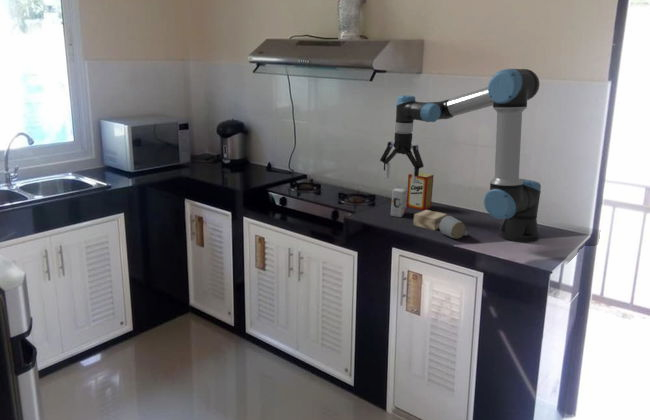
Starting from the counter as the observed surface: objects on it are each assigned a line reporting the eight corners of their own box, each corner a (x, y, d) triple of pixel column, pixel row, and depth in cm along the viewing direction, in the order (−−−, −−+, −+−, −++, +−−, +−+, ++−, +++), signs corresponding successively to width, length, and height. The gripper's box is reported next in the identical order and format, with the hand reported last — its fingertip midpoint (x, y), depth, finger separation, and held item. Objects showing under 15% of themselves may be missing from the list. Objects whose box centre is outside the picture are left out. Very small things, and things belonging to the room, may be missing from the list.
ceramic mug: (451, 241, 213) (453, 221, 211) (438, 234, 220) (439, 216, 218) (472, 238, 218) (474, 219, 216) (458, 232, 225) (460, 213, 222)
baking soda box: (431, 207, 259) (433, 174, 254) (424, 210, 254) (427, 176, 249) (413, 204, 264) (415, 171, 260) (406, 206, 259) (408, 173, 255)
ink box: (395, 211, 251) (397, 185, 248) (406, 212, 249) (408, 187, 246) (389, 216, 244) (391, 190, 240) (401, 217, 242) (402, 191, 238)
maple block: (446, 225, 233) (447, 214, 231) (434, 230, 225) (435, 219, 224) (425, 220, 239) (426, 209, 238) (413, 225, 232) (414, 214, 230)
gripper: (434, 134, 232) (429, 183, 238) (383, 128, 246) (380, 174, 252) (425, 136, 226) (421, 186, 232) (374, 129, 241) (371, 177, 247)
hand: (400, 180), depth 242 cm, fingers open, 13 cm apart
